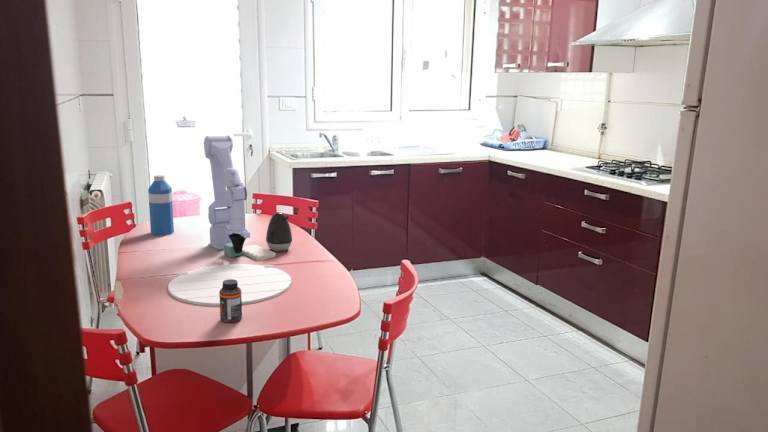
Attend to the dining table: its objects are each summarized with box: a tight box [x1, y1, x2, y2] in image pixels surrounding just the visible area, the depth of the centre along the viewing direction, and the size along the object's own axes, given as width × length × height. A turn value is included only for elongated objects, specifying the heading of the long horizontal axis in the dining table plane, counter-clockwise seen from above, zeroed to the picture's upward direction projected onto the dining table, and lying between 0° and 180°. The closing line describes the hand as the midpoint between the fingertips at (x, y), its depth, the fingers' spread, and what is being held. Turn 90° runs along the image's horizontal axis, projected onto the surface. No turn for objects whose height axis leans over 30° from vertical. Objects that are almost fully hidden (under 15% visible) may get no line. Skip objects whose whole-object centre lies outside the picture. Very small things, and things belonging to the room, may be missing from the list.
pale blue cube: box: [223, 243, 243, 258], centre depth 230 cm, size 5×5×4 cm
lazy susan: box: [167, 260, 292, 307], centre depth 198 cm, size 40×39×3 cm
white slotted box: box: [242, 244, 277, 261], centre depth 232 cm, size 15×8×2 cm, turn 43°
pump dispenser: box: [265, 211, 293, 252], centre depth 237 cm, size 10×10×15 cm
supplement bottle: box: [219, 279, 243, 324], centre depth 168 cm, size 6×6×11 cm
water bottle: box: [147, 174, 175, 237], centre depth 257 cm, size 9×9×25 cm
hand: (238, 252), depth 227 cm, fingers closed
